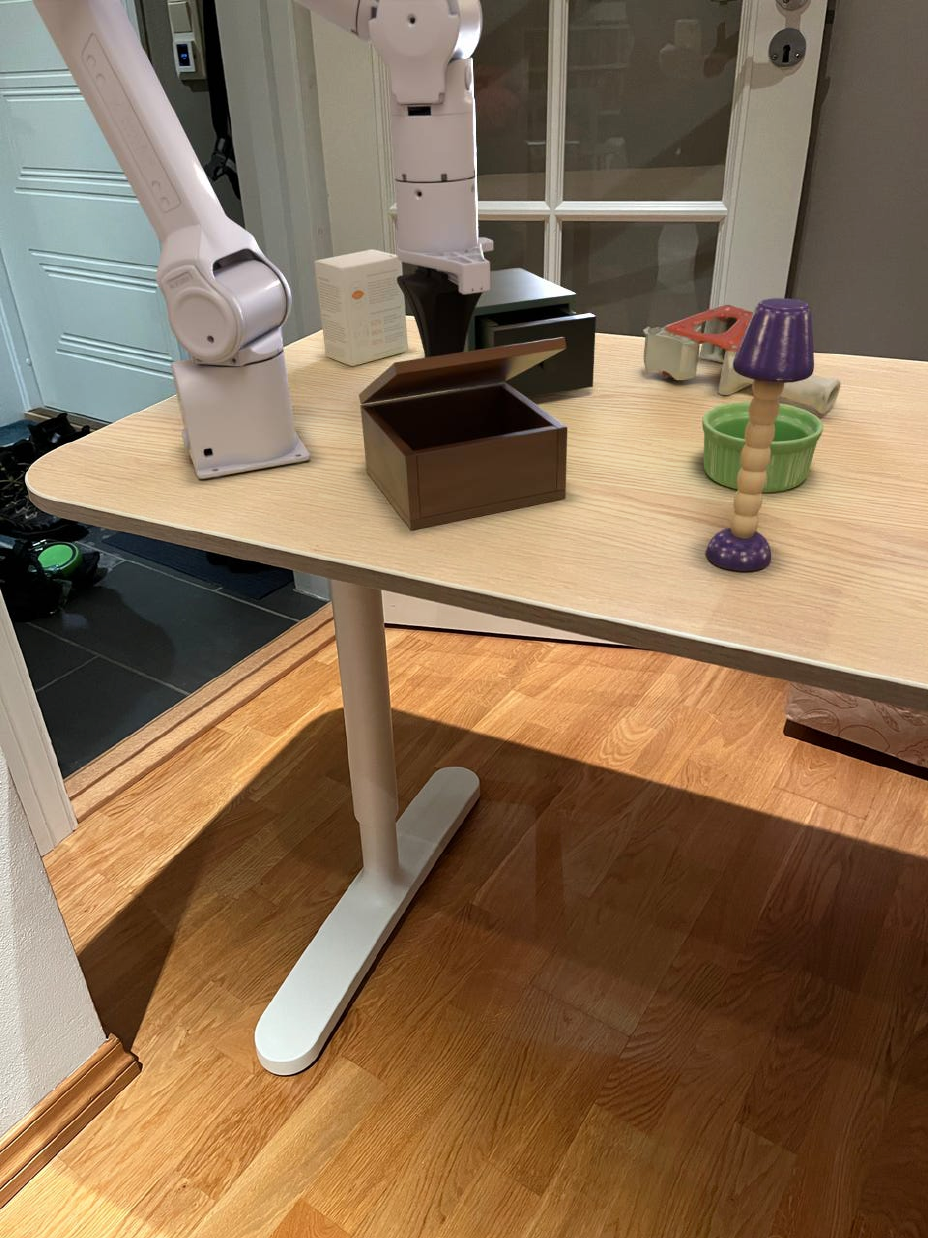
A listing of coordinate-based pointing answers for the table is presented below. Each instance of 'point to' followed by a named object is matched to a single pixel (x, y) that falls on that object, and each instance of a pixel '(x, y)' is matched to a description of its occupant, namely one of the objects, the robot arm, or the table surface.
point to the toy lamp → (762, 420)
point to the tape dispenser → (722, 355)
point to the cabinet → (517, 297)
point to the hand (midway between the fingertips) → (444, 370)
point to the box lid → (458, 370)
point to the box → (464, 453)
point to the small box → (361, 306)
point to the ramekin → (787, 448)
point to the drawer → (536, 325)
